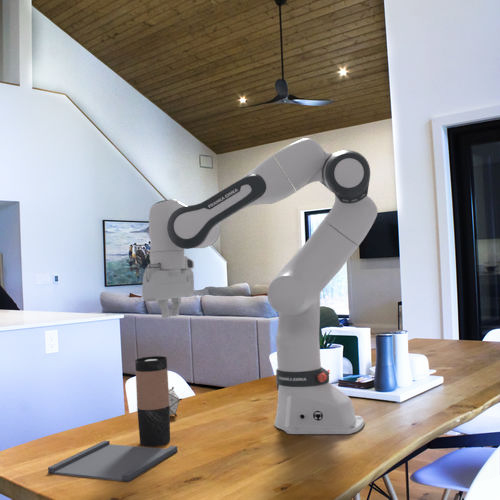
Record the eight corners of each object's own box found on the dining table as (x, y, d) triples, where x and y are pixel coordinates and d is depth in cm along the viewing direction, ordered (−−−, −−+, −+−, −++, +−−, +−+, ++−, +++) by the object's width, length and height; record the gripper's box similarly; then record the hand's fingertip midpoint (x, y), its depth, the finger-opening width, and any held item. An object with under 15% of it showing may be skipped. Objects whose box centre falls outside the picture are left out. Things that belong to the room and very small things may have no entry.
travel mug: (176, 438, 141) (172, 356, 142) (161, 448, 134) (157, 361, 134) (148, 437, 143) (144, 356, 144) (132, 446, 136) (128, 361, 137)
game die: (171, 431, 161) (174, 407, 156) (144, 420, 163) (145, 396, 157) (184, 408, 168) (188, 384, 163) (158, 398, 170) (160, 374, 165)
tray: (177, 451, 131) (177, 446, 131) (128, 481, 113) (128, 475, 113) (104, 445, 138) (104, 440, 138) (48, 473, 121) (48, 467, 121)
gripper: (156, 262, 138) (159, 320, 138) (196, 261, 157) (199, 312, 157) (134, 264, 141) (137, 321, 140) (176, 263, 160) (179, 313, 159)
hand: (170, 316), depth 149 cm, fingers open, 3 cm apart
